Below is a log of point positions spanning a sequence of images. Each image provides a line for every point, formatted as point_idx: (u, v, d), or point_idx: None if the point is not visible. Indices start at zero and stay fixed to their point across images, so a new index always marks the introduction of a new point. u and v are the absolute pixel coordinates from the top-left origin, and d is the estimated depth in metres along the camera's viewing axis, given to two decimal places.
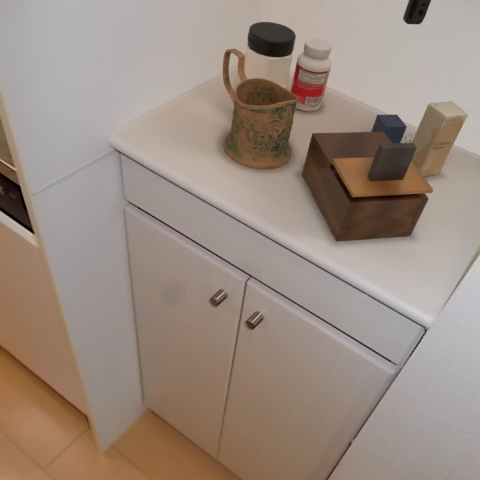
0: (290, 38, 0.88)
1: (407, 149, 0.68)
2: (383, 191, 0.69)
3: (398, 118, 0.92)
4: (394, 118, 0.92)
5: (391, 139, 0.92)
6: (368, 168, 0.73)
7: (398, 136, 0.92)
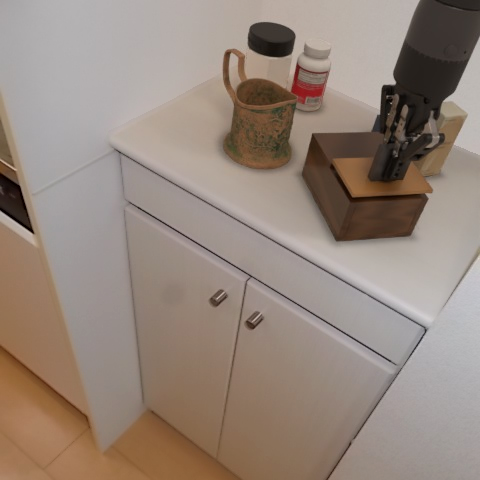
0: (290, 38, 0.88)
1: None
2: (383, 191, 0.69)
3: None
4: None
5: None
6: (368, 168, 0.73)
7: None
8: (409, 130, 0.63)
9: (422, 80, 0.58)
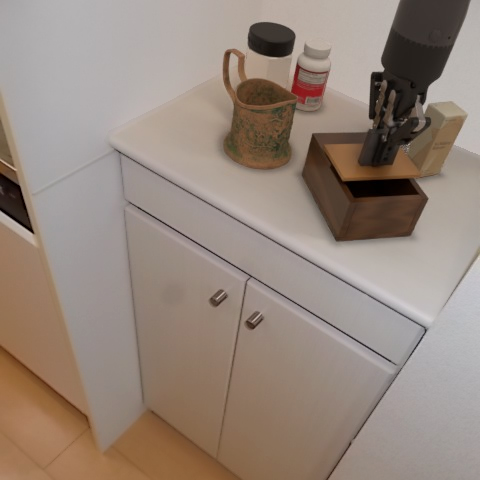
0: (290, 38, 0.88)
1: None
2: (373, 175, 0.72)
3: None
4: None
5: None
6: (358, 154, 0.75)
7: None
8: (397, 114, 0.66)
9: (408, 65, 0.60)
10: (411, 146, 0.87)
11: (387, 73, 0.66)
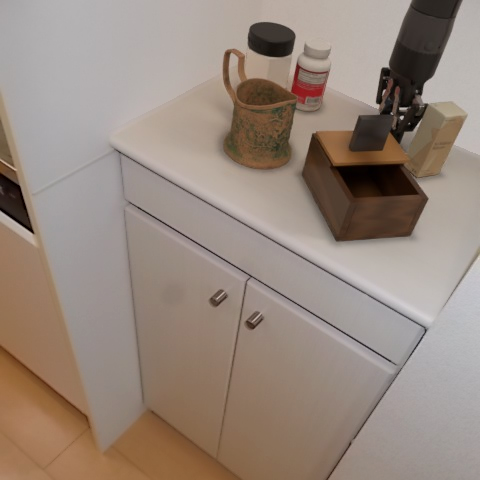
0: (290, 38, 0.88)
1: (385, 120, 0.72)
2: (363, 160, 0.74)
3: None
4: None
5: None
6: (349, 140, 0.77)
7: None
8: (400, 105, 0.87)
9: (409, 68, 0.81)
10: (411, 146, 0.87)
11: (393, 73, 0.87)
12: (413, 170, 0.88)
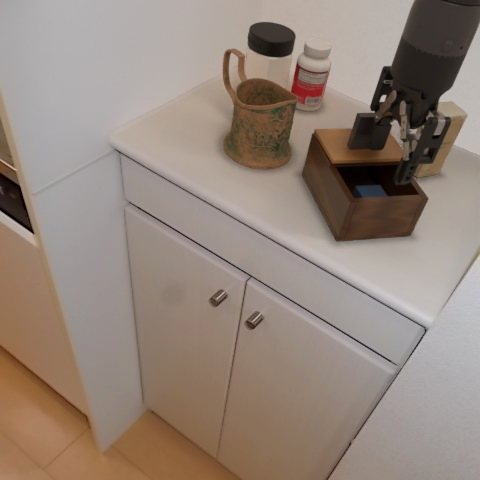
0: (290, 38, 0.88)
1: None
2: (361, 158, 0.74)
3: (381, 190, 0.76)
4: (377, 190, 0.76)
5: None
6: (348, 138, 0.77)
7: None
8: None
9: (419, 76, 0.58)
10: None
11: (396, 83, 0.65)
12: None
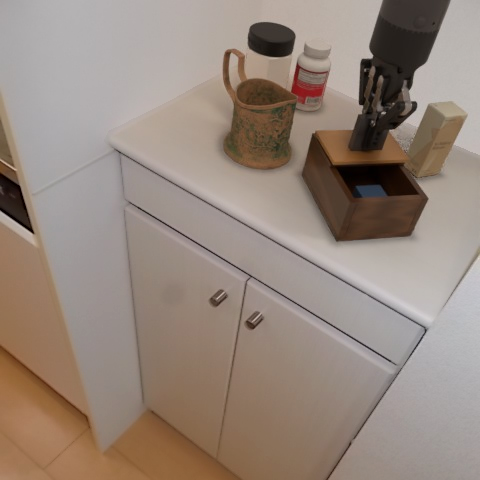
0: (290, 38, 0.88)
1: None
2: (362, 160, 0.74)
3: (381, 190, 0.76)
4: (377, 190, 0.76)
5: None
6: (349, 139, 0.77)
7: None
8: (384, 99, 0.68)
9: (394, 51, 0.62)
10: (411, 146, 0.87)
11: (376, 59, 0.69)
12: (413, 170, 0.88)
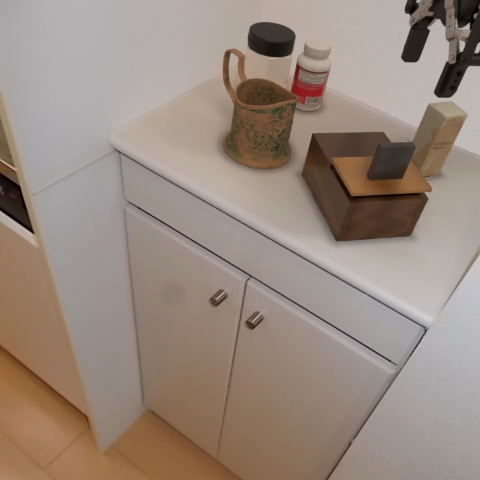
0: (290, 38, 0.88)
1: (406, 148, 0.68)
2: (382, 190, 0.70)
3: None
4: None
5: None
6: (367, 167, 0.73)
7: None
8: None
9: None
10: None
11: None
12: None
